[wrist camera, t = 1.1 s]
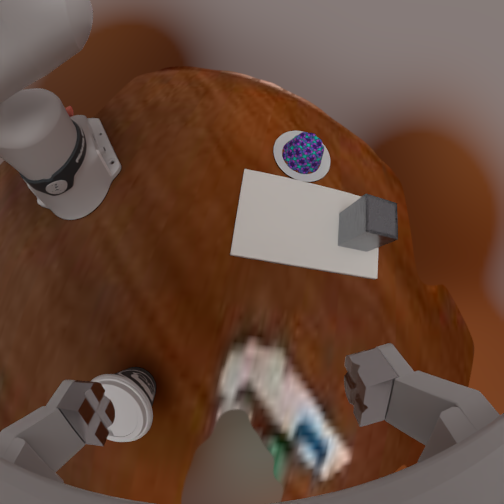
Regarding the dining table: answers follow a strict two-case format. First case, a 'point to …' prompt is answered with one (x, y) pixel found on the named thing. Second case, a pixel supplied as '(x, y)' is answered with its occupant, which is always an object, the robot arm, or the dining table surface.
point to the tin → (368, 224)
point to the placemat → (296, 226)
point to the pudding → (302, 155)
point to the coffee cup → (129, 402)
